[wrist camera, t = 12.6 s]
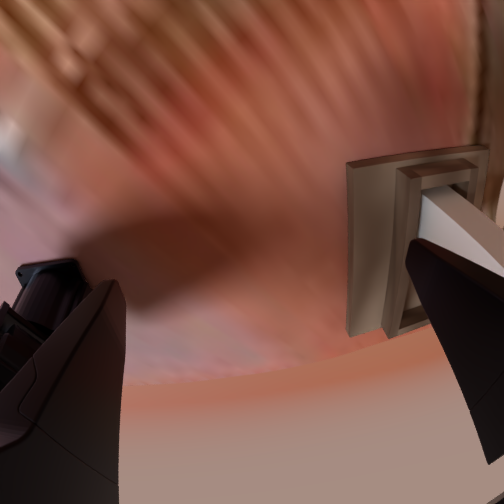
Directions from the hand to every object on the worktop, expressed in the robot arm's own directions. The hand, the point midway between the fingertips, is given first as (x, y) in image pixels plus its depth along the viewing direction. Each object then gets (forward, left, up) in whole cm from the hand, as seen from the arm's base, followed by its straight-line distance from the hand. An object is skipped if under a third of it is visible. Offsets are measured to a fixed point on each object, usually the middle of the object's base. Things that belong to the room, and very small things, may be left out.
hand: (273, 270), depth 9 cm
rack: (+16, -10, -13) cm, 23 cm away
